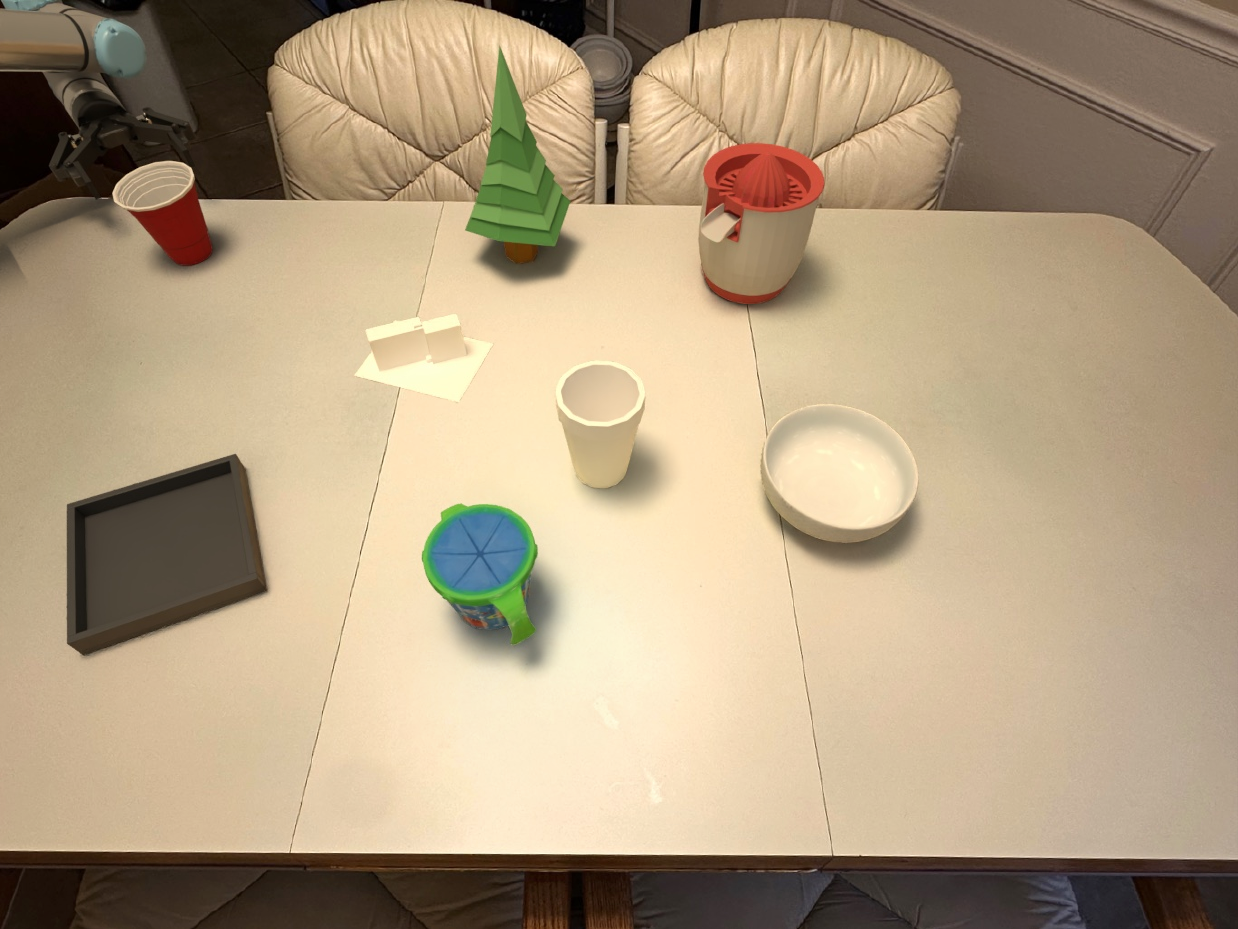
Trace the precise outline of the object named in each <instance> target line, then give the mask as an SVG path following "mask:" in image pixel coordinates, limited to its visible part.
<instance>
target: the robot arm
mask: <svg viewBox="0 0 1238 929" xmlns="http://www.w3.org/2000/svg"><path fill="white" fill-rule="evenodd" d="M0 1H1V3H2V4H3V7H4V8H0V72H37V73H38V72H39V73H40V72H41V73H43V75H44V77H45V79H46V80H47V83H48V85H49V88H50V89H51V91H52V93H53V95H54V96H55V97H56V99H57V100H59V102H60V103H61V104H62V105H63V107H64V109H65V111H66V112H67V113H68V115H69V116H70V118H71V119H72V121H73V122H74V124H75V125H76V127H77V128H78V133H77V134H74V135H72V134H68V133H67V131H62V132H59V133H58V134H57V137H58V139H59V141H58V143H57V145H56V148H55V150H54V153H53V155H52V157H51V160H50V162H49V164H48V167H49V169H50V171H51V172H52V173H53V175H54V176H55V178H56V179H57V181H58V182H59V183H64V182H66V181H67V180H68V179H72V180H73V182H74V183H75V185H76V187H79V188H82V187H84V186H87V188H88V190H89V191H90V193H91V194H92V196H93V197H94V199H95V200H99V199H102V196H101V195H100V193H99V191H98V190H97V188H96V187H95V185H94V183H93V182H92V180H91V179H90V177H89V176H88V174H87V173H86V172H88V170H89V169H90V168H91V167H92V165H93V164H94V163H95V161H97V159H98V158H99V157H104V156H105V155H106V153H107V152H108V151H109V150H111V149H113V148H117V147H119V146H121V145H127V144H130V143H133V144H141V145H143V144H145V143H146V142H147V143H149V142H150V143H156V144H162V145H163V144H164V145H171V146H172V145H173V147H174V149H175V150H176V152H177V153H178V154H179V156H180V157H181V158H182V160H184V162H185V164H186V165H187V166H189V167H191V168H193V167H196V163H195V162H194V161H193V160H194V159H193V158H192V157H191V154H190V152H191V151H193V148H192V145H191V143H190V142H189V141H194V140H196V139H197V136H196V134H195V132H194V130H193V127H192V126H191V123H190V121H188V120H184V119H180V118H177V117H174V116H171V115H167V114H165V113H161V112H157V111H155V110H153V109H152V108H151V107H149V106H146V107H143V108H142V114H140V115H137V116H135V115H134V114H130V113H129V112H128V110H127V109H126V108H125V106H124V105H123V104H122V103H121V101H120V100H119V99H118V97H117V96H116V95H115V94H114V92H112V90H111V88H109V86H108V84H107V83H106V82H105V80H104V79H103V78H104V77H103V76H102V74H106V75H109V76H111V77H113V78H121V79H126V80H127V79H134V78H136V77H138V76H140V75H141V74H142V72H143V71H144V69H145V67H146V65H147V61H148V56H147V48H146V46H145V42H144V41H143V39H142V36H140V34H139V33H138V32H137V31H136V30H134V28H132V27H130V26H129V25H127V24H125V23H122V22H120V21H119V20H116V19H115V18H107V17H104V16H100V15H98V14H93V13H91V12H87V11H84V10H82V9H79V8H76V7H72V6H69V5H66V4H64V3H63V1H62V0H0Z"/></svg>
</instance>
